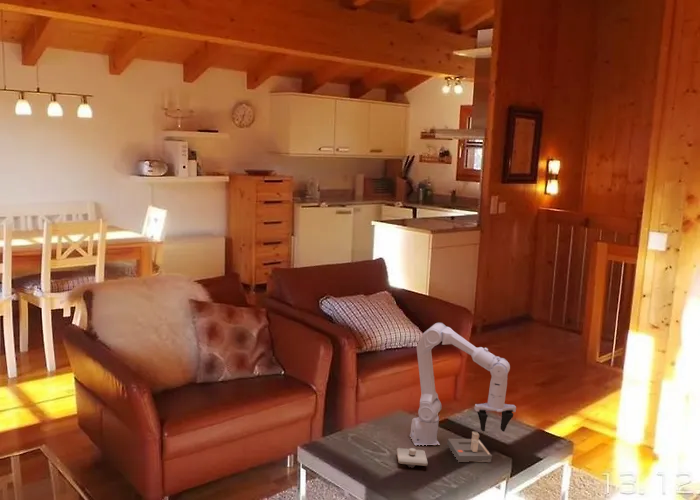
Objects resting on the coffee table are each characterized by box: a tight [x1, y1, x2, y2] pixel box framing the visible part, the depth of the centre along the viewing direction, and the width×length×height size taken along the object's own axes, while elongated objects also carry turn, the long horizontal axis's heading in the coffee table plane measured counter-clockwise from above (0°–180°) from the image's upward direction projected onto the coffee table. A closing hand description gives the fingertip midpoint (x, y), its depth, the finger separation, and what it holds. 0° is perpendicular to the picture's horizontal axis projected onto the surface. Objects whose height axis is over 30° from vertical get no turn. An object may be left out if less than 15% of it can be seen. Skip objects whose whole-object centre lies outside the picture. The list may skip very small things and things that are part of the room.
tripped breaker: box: [470, 438, 479, 452], centre depth 229 cm, size 2×3×4 cm
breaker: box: [471, 431, 480, 441], centre depth 236 cm, size 2×3×4 cm
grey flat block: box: [446, 438, 493, 463], centre depth 233 cm, size 12×13×2 cm
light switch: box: [396, 447, 428, 469], centre depth 222 cm, size 10×10×5 cm
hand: (492, 430), depth 230 cm, fingers open, 7 cm apart
